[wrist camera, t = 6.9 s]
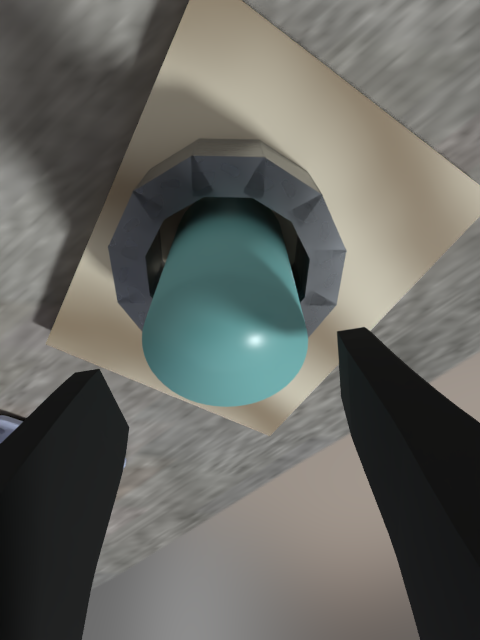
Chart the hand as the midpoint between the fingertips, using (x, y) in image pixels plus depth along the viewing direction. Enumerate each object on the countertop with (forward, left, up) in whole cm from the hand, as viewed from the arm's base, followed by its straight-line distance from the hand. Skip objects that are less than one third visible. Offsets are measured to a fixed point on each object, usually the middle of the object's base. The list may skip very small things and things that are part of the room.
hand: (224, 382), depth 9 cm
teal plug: (0, 0, -8) cm, 8 cm away
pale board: (-1, -2, -9) cm, 10 cm away
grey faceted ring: (0, 0, -8) cm, 8 cm away
